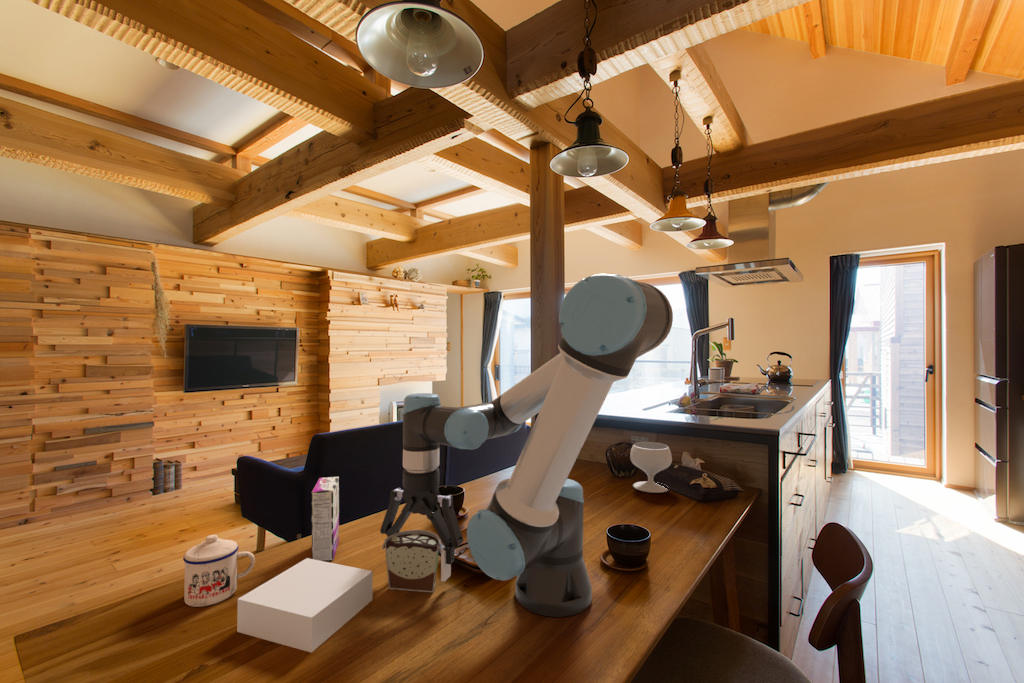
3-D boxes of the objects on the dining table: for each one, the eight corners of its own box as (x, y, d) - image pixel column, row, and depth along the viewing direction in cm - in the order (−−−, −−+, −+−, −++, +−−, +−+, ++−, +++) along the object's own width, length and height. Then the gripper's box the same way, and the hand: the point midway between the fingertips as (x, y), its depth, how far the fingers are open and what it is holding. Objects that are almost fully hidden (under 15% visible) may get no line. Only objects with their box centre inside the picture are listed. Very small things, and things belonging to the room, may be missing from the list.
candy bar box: (318, 542, 114) (318, 477, 114) (339, 540, 115) (340, 475, 115) (310, 563, 103) (310, 491, 103) (333, 561, 104) (334, 489, 104)
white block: (372, 602, 88) (372, 571, 88) (311, 654, 73) (311, 617, 73) (306, 587, 94) (307, 558, 94) (237, 633, 78) (237, 598, 78)
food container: (448, 577, 97) (449, 530, 97) (440, 593, 91) (440, 543, 91) (393, 573, 99) (393, 527, 99) (381, 588, 92) (382, 539, 93)
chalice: (680, 492, 154) (680, 448, 154) (644, 496, 150) (644, 451, 150) (656, 480, 167) (656, 440, 167) (622, 483, 163) (622, 442, 163)
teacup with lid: (179, 613, 83) (180, 550, 84) (186, 590, 91) (186, 532, 91) (254, 596, 89) (255, 537, 89) (254, 575, 97) (255, 521, 97)
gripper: (480, 469, 94) (479, 575, 94) (385, 458, 103) (384, 555, 102) (463, 479, 87) (463, 593, 87) (363, 466, 95) (362, 570, 95)
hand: (420, 573), depth 95 cm, fingers closed on food container, 11 cm apart
